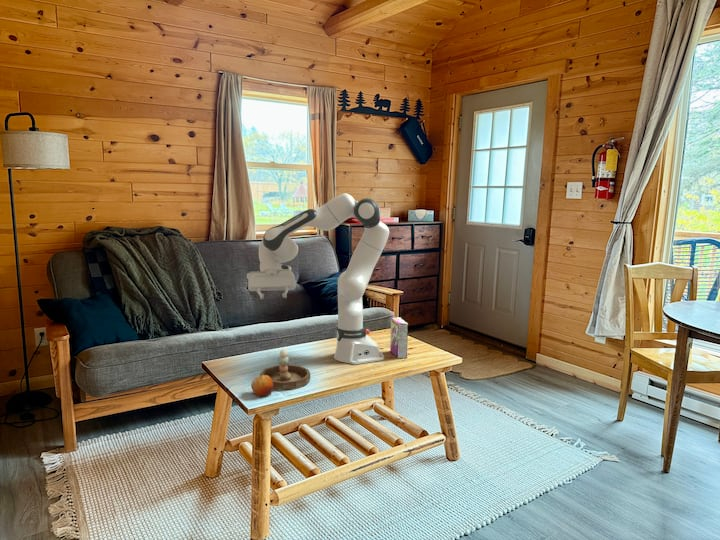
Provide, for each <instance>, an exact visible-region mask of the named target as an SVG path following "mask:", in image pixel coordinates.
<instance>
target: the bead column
mask: <svg viewBox="0 0 720 540" xmlns="http://www.w3.org/2000/svg"><path fill="white" fill-rule="evenodd" d="M288 354H289V353H288V350H287V349H281V350H280V351H279V357H278V365H280V367H279V370H280V371H279V376H280V374H281V373H285V372H287V373H289V371H288V366H287V365H290V362H289V356H288Z"/></svg>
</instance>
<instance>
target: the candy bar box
mask: <svg viewBox="0 0 720 540" xmlns="http://www.w3.org/2000/svg"><path fill="white" fill-rule="evenodd" d="M408 330H409V323H408V322H407V321H405V320H404V319H403V318H402V317H390V350H389V351H390V353H391V354H393V356H395V357H396V359H398V360H399V359H408V340H409V339H408V336H409V335H408V334H409V331H408Z"/></svg>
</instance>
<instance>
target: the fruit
mask: <svg viewBox="0 0 720 540" xmlns="http://www.w3.org/2000/svg"><path fill="white" fill-rule="evenodd" d="M250 385H251V389H252V392H253V393H254V394H255V395H256V396H257V397H260V398H263V397H267V396H271V395H272V392H273V390H274V389H273V386H274V383H273V380H272V379H271V378H270V377H269V376H268V375H262V376H260V375H259V376H257V377H256V378H255V379H254V380H253V381H252V383H251V384H250Z"/></svg>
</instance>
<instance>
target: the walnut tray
mask: <svg viewBox="0 0 720 540" xmlns="http://www.w3.org/2000/svg"><path fill="white" fill-rule="evenodd" d="M287 366H288V371H289V373H287V372H285V373H281V374H280V376H279V371H280V370H279V367H280V365H279V364H278V365H273V366H271V367H266V368H265V369H263V370H262V371H261V372H260V375H259V376H262V375H268V376H269V377H270V378H271V379H272V380H273V383H274V386H273V390H274V389H276V390H277V391H288V390H289V391H293V390H296V389H300V388H302V387H305V386H307V385H308V384H309V383H310V381H311V372H310V370H309V368H306V367H304V366H301V365H296V364H295V365H294V364H288V365H287Z"/></svg>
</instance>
